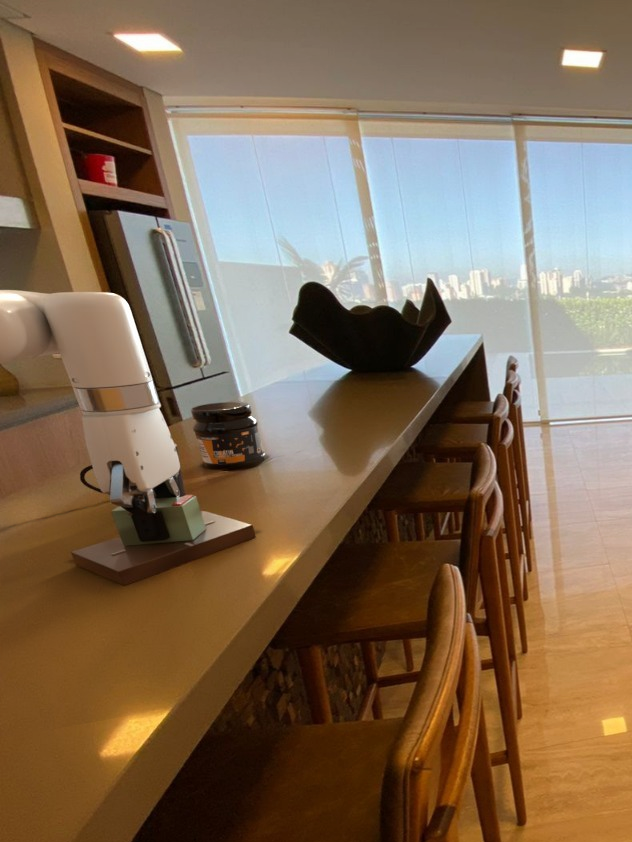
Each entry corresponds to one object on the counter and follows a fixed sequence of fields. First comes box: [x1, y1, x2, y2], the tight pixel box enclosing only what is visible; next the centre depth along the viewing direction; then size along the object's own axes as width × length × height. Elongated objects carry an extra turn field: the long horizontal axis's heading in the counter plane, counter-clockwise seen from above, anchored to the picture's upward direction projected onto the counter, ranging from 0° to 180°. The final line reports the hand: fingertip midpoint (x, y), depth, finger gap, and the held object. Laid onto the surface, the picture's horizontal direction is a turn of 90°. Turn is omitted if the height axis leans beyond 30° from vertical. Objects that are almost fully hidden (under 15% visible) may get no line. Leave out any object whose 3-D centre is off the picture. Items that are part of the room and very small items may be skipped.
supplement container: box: [190, 401, 267, 472], centre depth 112 cm, size 10×10×12 cm
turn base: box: [70, 510, 257, 586], centre depth 77 cm, size 16×12×2 cm
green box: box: [110, 494, 206, 546], centre depth 76 cm, size 8×4×5 cm, turn 104°
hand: (164, 531), depth 77 cm, fingers closed on green box, 4 cm apart
